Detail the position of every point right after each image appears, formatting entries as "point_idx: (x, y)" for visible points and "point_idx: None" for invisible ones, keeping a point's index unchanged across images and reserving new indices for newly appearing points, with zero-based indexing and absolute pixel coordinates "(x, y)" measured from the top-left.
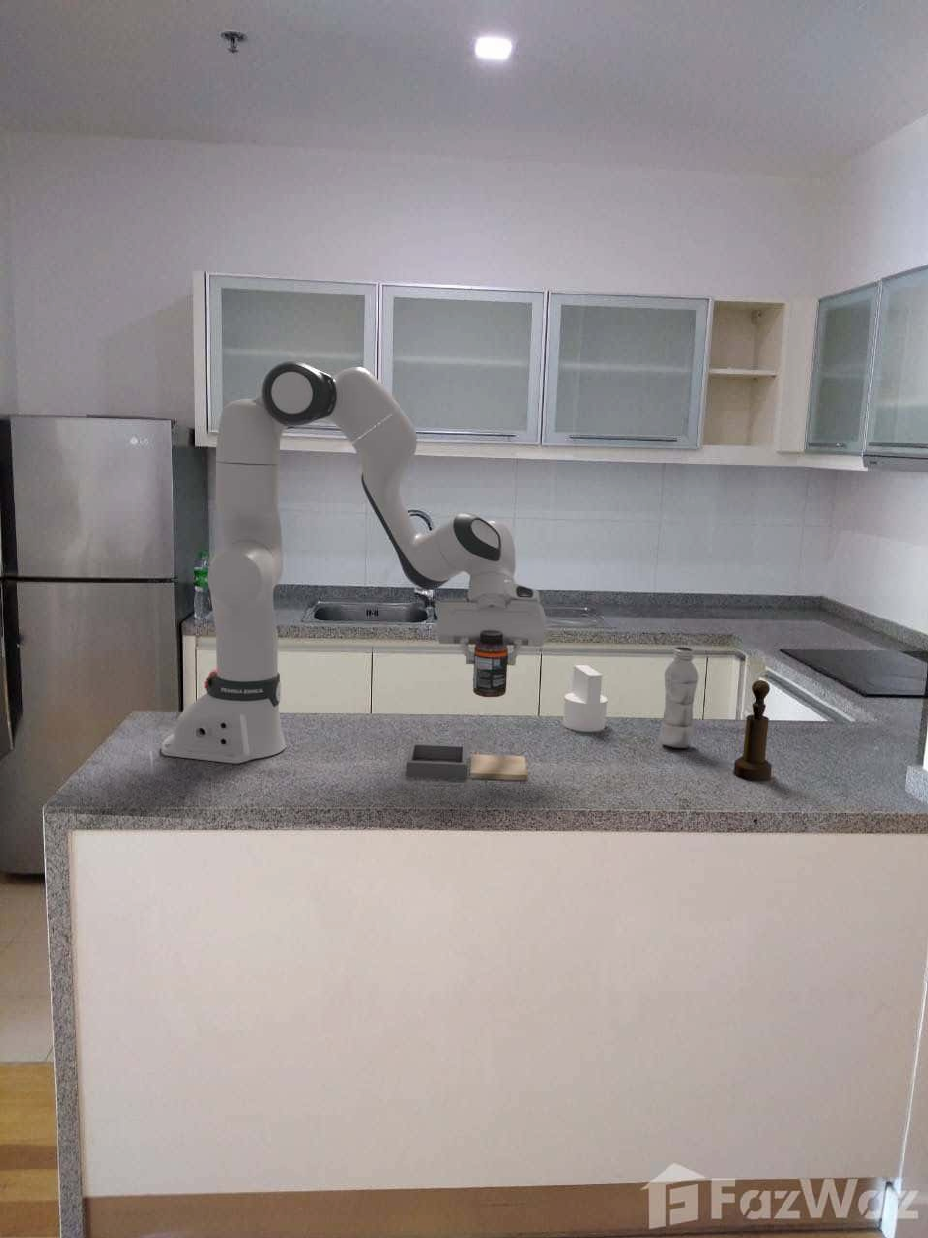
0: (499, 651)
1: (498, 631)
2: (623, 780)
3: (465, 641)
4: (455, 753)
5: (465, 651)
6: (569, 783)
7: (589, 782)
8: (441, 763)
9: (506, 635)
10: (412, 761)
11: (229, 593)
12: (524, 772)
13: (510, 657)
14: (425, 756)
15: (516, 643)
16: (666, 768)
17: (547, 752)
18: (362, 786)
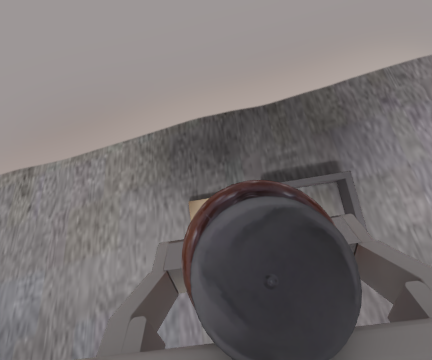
0: (211, 197)
1: (226, 322)
2: (78, 236)
3: (424, 286)
4: None
5: (378, 243)
6: (140, 208)
7: (117, 218)
8: (300, 180)
9: (178, 354)
10: (343, 176)
11: None
12: (192, 210)
13: (176, 250)
14: None
15: (134, 321)
16: (22, 297)
17: (170, 327)
18: (381, 125)
